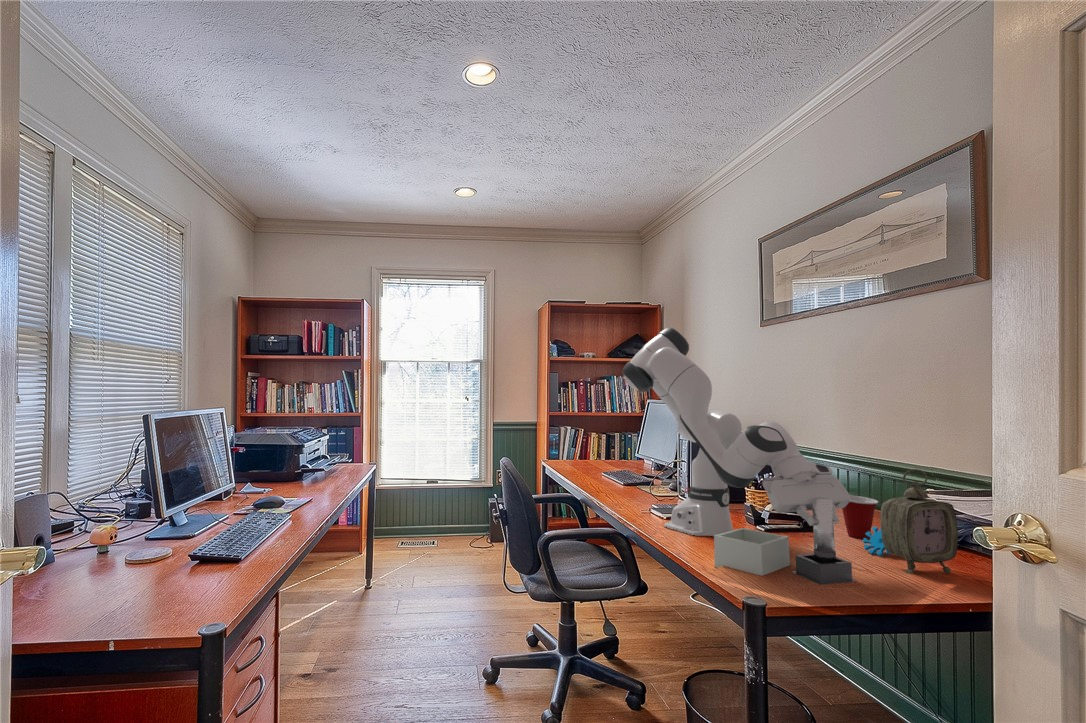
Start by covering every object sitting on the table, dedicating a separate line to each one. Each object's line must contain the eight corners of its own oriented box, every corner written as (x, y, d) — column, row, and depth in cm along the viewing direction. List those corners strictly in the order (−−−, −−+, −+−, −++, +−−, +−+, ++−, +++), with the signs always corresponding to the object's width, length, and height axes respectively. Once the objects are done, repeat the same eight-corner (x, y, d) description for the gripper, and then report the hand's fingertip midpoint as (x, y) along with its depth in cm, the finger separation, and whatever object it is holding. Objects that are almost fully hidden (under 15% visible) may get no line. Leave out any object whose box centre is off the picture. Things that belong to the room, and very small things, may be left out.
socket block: (791, 575, 136) (790, 554, 137) (826, 572, 139) (826, 551, 139) (820, 589, 127) (819, 566, 127) (858, 585, 129) (857, 563, 129)
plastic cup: (879, 543, 166) (877, 501, 167) (838, 538, 172) (836, 498, 172) (880, 535, 175) (878, 496, 176) (841, 531, 181) (839, 493, 182)
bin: (714, 567, 143) (713, 535, 144) (743, 558, 152) (742, 527, 152) (762, 579, 133) (761, 545, 134) (789, 569, 142) (788, 536, 142)
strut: (810, 558, 133) (807, 499, 134) (819, 555, 136) (816, 496, 137) (830, 563, 130) (827, 501, 131) (839, 559, 133) (836, 499, 134)
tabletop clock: (908, 579, 133) (903, 472, 134) (879, 568, 141) (874, 468, 143) (960, 575, 135) (954, 470, 137) (927, 564, 144) (922, 466, 146)
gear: (854, 544, 159) (876, 518, 160) (865, 557, 160) (887, 531, 161) (887, 560, 148) (910, 532, 149) (898, 574, 149) (921, 546, 151)
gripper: (764, 470, 139) (792, 518, 129) (835, 466, 143) (867, 513, 133) (754, 485, 143) (780, 534, 133) (823, 481, 148) (854, 528, 137)
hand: (825, 523), depth 133 cm, fingers closed on strut, 4 cm apart
